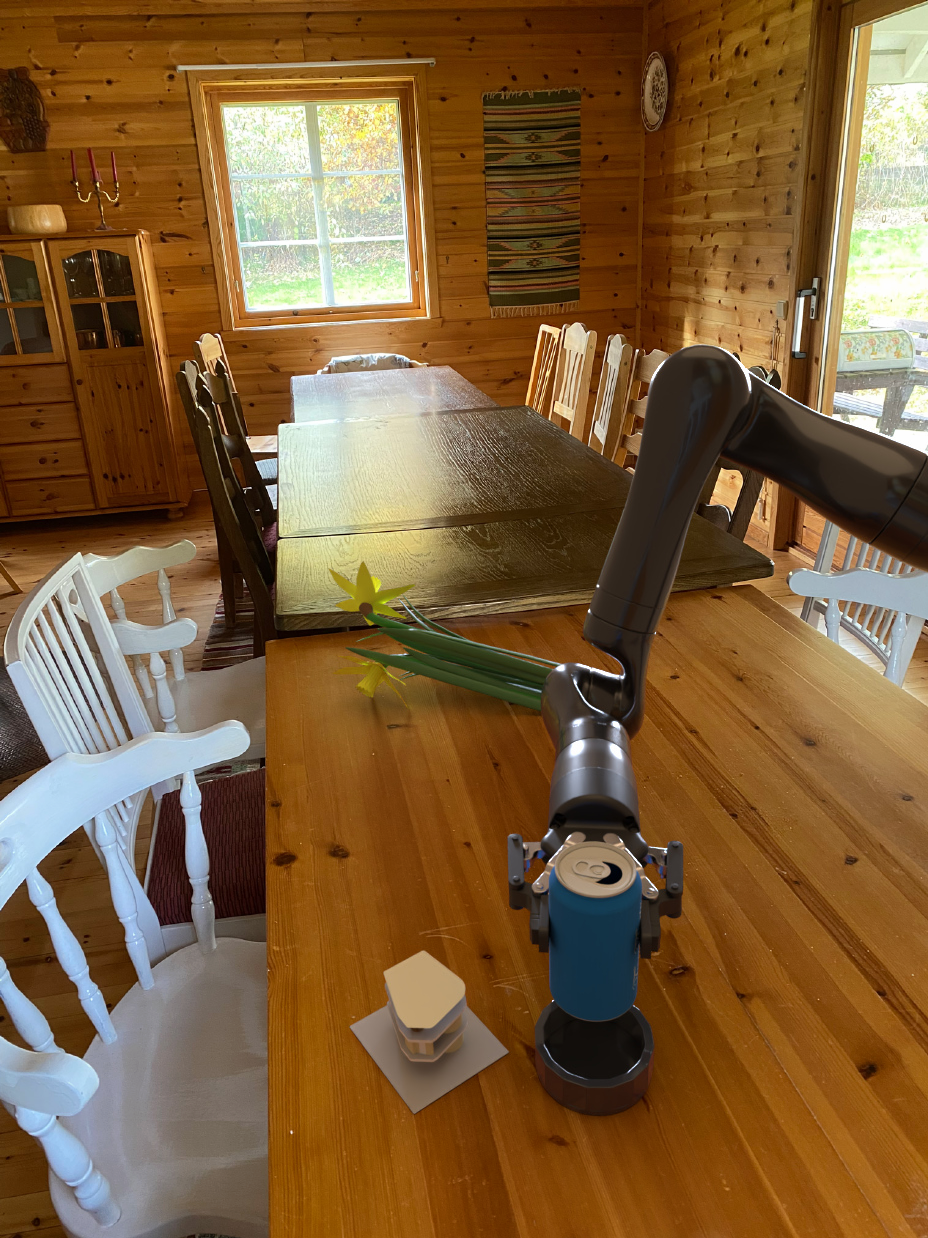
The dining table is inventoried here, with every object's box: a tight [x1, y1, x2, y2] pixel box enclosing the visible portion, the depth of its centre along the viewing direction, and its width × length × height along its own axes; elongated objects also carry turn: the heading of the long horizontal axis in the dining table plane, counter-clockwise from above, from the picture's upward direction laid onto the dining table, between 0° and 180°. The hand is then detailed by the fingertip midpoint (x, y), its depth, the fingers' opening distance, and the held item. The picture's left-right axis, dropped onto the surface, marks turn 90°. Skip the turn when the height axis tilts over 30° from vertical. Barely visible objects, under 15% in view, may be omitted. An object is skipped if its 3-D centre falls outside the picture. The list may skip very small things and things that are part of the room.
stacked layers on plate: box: [349, 950, 510, 1115], centre depth 73 cm, size 10×9×6 cm
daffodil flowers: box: [328, 561, 562, 713], centre depth 122 cm, size 17×15×35 cm
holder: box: [534, 999, 656, 1117], centre depth 71 cm, size 9×9×3 cm
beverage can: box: [548, 842, 642, 1021], centre depth 66 cm, size 6×6×12 cm
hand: (594, 946), depth 63 cm, fingers closed on beverage can, 6 cm apart
